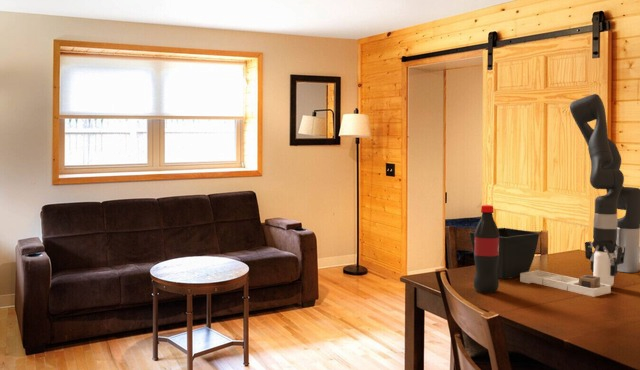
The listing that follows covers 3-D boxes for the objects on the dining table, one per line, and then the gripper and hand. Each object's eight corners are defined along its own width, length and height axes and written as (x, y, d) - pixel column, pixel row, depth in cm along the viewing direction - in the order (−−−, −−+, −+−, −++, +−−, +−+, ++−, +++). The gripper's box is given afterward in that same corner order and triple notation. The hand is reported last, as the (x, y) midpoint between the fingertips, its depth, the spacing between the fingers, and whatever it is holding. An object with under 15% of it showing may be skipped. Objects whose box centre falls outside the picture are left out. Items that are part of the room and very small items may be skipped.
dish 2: (560, 283, 224) (560, 274, 223) (583, 288, 215) (584, 279, 215) (543, 287, 218) (543, 278, 218) (566, 292, 210) (566, 283, 210)
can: (615, 286, 211) (616, 252, 210) (595, 286, 212) (596, 251, 211) (610, 282, 217) (611, 249, 216) (591, 281, 219) (592, 248, 218)
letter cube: (585, 289, 212) (585, 274, 212) (599, 291, 208) (600, 276, 208) (578, 291, 209) (578, 276, 208) (593, 294, 205) (593, 279, 204)
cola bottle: (499, 289, 216) (500, 204, 213) (498, 295, 208) (499, 206, 205) (474, 287, 218) (475, 203, 216) (472, 293, 210) (473, 206, 208)
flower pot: (467, 272, 242) (468, 230, 240) (502, 267, 251) (503, 226, 250) (503, 282, 225) (504, 237, 224) (539, 276, 235) (540, 233, 233)
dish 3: (584, 289, 215) (585, 280, 215) (610, 294, 207) (610, 285, 207) (567, 292, 210) (568, 283, 210) (593, 299, 202) (593, 289, 202)
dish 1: (537, 278, 232) (537, 269, 232) (559, 283, 224) (559, 274, 224) (520, 281, 227) (520, 273, 226) (542, 286, 219) (542, 277, 218)
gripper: (580, 224, 217) (578, 271, 219) (618, 229, 205) (616, 279, 206) (592, 223, 221) (591, 268, 223) (631, 228, 209) (629, 276, 210)
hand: (603, 273), depth 214 cm, fingers closed on can, 6 cm apart
